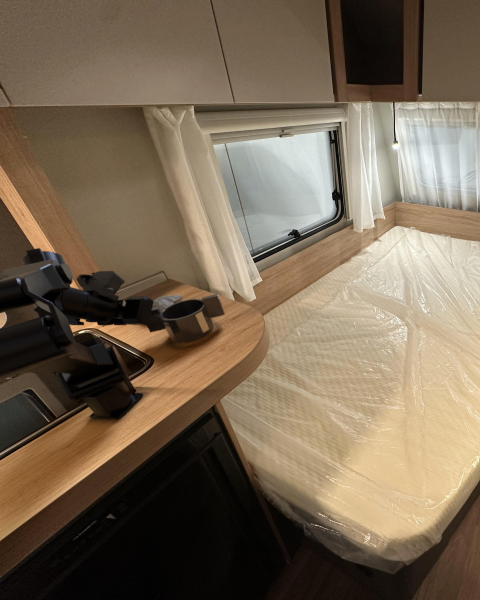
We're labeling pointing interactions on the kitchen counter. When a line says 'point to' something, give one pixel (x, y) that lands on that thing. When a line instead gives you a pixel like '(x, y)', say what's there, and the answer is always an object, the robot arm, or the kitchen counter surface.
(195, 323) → the pot
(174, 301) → the fossilized seashell
